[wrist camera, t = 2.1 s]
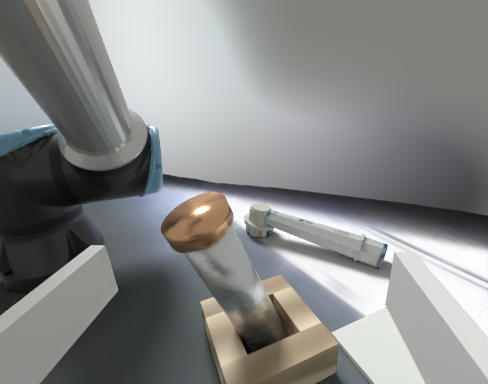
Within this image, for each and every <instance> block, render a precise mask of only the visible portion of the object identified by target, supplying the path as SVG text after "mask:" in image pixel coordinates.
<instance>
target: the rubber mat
mask: <svg viewBox="0 0 488 384" xmlns="http://www.w3.org/2000/svg"><path fill="white" fill-rule="evenodd" d="M331 335H332V336H333V337H334V338H335V339H336V341H337V342H338V343H339V347H340V348H341V349H342V350H343V352H344V353H345V354H346V355H347V356H348V358H349V359H350V360H351V361H352V362H353V364H354V365H355V366H356V367H357V368H358V370H359V371H360V372H361V373H362V374H363V376H364V377H365V378H366V379H367V380H368V382H369V383H370V384H425V382H424V380H423V378H422V376H421V374H420V372H419V370H418V368H417V366H416V364H415V362H414V360H413V358H412V356H411V354H410V352H409V350H408V348H407V346H406V344H405V342H404V340H403V338H402V337H401V335H400V333H399V331H398V329H397V327H396V325H395V323H394V321H393V319H392V317H391V315H390V313H389V311H388V309H387V307H386V308H383V309H381V310H379V311H377V312H375V313H373V314H370V315H368V316H366V317H364V318H362V319H360V320H357V321H355V322H353V323H351V324H349V325H347V326H345V327H342V328H340V329H338V330H336V331H334V332H332V333H331Z"/></svg>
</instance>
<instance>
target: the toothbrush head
mask: <svg viewBox="0 0 488 384" xmlns="http://www.w3.org/2000/svg"><path fill="white" fill-rule="evenodd" d="M245 224H246V231H248V232H249V233H250V235H251V236H253V237H255V238H256V237H263V238H265V237H269V236H270V235H271V234H272V231H273V228H277V229H279V230H282V231H284V232H287V233H289V234H292V235H294V236H297V237H299V238H302V239H305V240H307V241H310V242H312V243H315V244H317V245H320V246H322V247H325V248H327V249H330V250H332V251H335V252H337V253H340V254H342V255H345V256H347V257H350V258H352V259H354V261H355V262H356V261H357V260H358V261H360V262H363V263H365V264H368V265H371V266H374V267H376V268H379V269H380V268H381V265H382V263H383V260H384V257H385V254H386V250H387V246H388V245H387V244H384V243H381V242H378V241H375V240H372V239H369V238H366V237H365V235H364V234H363V236H360V235H357V234H353V233H350V232H346V231H343V230H339V229H336V228H332V227H329V226H325V225H322V224H318V223H315V222H311V221H308V220H304V219H301V218H297V217H294V216H290V215H287V214H283V213H280V212H276V211H273V210H271V209H270V207H269V206H268V205H266V204H263V203H254V204H253V205H252V206H251V207H250V212H249V214H247V215H246V216H245Z"/></svg>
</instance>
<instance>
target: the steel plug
mask: <svg viewBox="0 0 488 384" xmlns="http://www.w3.org/2000/svg"><path fill="white" fill-rule="evenodd" d="M232 221H233V212H232V210H231V208H230V206H229V204H228V202H227V200H226V198H225V196H224V195H223V194H221V193H218V192H208V193H204V194H200V195H197V196H195V197H193V198H191V199H189V200H187V201H185V202H183V203H182V204H180V205H179V206H177V207H176V208H175V209H174V210H173V211H172V212H170V213H169V215H168V216H167V217H166V218H165V220H164V221H163V223H162V226H161V232H162V234H163V236H164V237H165V238H166V240H167V241H168V243H169V244H170V246H171V247H172V248H173V249H174V250H175V251H177V252H180V253H184V254H185V255H186V257H187V258H188V260H189V261H190V263H191V264H192V266H193V267H194V268H195V270H196V271H197V273H198V274H199V276H200V277H201V279H202V280H203V282H204V283H205V285H206V286H207V288H208V289H209V291H210V292H211V294H212V295H213V297H214V298H215V299H216V301H217V302H218V304H219V305H220V307H221V308H222V310H223V311H224V313H225V314H226V316H227V317H228V319H229V320H230V322H231V323H232V325H233V326H234V328H235V329H236V330H237V332H238V333H239V335H240V336H241V338H242V339H243V341H244V342H245V344H246V345H247V347H248V348H249V350H250V351H251V353H253V352H255V351H258V350H260V349H262V348H264V347H267V346H269V345H271V344H274V343H276V342H278V341H280V340H283V339H285V338H287V337H288V334H287V331H286V329H285V327H284V325H283V323H282V321H281V319H280V317H279V315H278V313H277V311H276V309H275V307H274V306H273V304H272V302H271V300H270V298H269V296H268V294H267V292H266V290H265V288H264V286H263V284H262V282H261V280H260V278H259V276H258V274H257V272H256V270H255V269H254V267H253V265H252V263H251V261H250V259H249V257H248V255H247V253H246V251H245V249H244V247H243V245H242V243H241V241H240V239H239V237H238V235H237V233H236V232H235V230H234V228H233V226H232Z"/></svg>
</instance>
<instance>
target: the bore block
mask: <svg viewBox="0 0 488 384" xmlns="http://www.w3.org/2000/svg"><path fill="white" fill-rule="evenodd" d="M261 282H262V284H263V286H264V288H265V290H266V292H267V294H268V296H269V298H270V300H271V302H272V304H273V306H274V307H275V309H276V311H277V313H278V315H279V317H280V319H281V321H282V323H283V325H284V327H285V329H286V331H287V334H288V337H287V338H285V339H283V340H280V341H278V342H276V343H274V344H271V345H269V346H267V347H264V348H262V349H260V350H258V351H255V352H253V353H251V354H249V355H247V353H246V350H245V348H244V346H243V344H242V341H241V339H240V337H239V335H238V332H237V330H236V329H235V328H234V326H233V325H232V323H231V322H230V320H229V319H228V317H227V316H226V314H225V313H224V311H223V310H222V308H221V307H220V305H219V304H218V302H217V301H216V299H215V298H214V297H213V298H210V299H207V300H204V301H201V302H200V303H201V310H202V316H203V322H204V328H205V331H206V335H207V338H208V341H209V345H210V348H211V351H212V355H213V358H214V361H215V365H216V368H217V371H218V375H219V378H220V381H221V384H315V383H317V382H319V381H321V380H323V379H325V378H327V377H329V376H330V375H332V374H334V373H336V366H337V356H338V347H339V343H338V342H337V341H336V339H335V338H334V337H333V336H332V335H331V333H330V332H329V331H328V330H327V329H326V328H325V326H324V325H323V324H322V323H321V322H320V320H319V319H318V318H317V317H316V316H315V314H314V313H313V312H312V311H311V310H310V309H309V307H308V306H307V305H306V304H305V303H304V301H303V300H302V299H301V298H300V297H299V296H298V294H297V293H296V292H295V291H294V290H293V288H292V287H291V286H290V285H289V284H288V282H287V281H286V280H285V279H284V278H283V277H282V275H278V276H275V277H272V278H269V279H266V280H263V281H261Z"/></svg>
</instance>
